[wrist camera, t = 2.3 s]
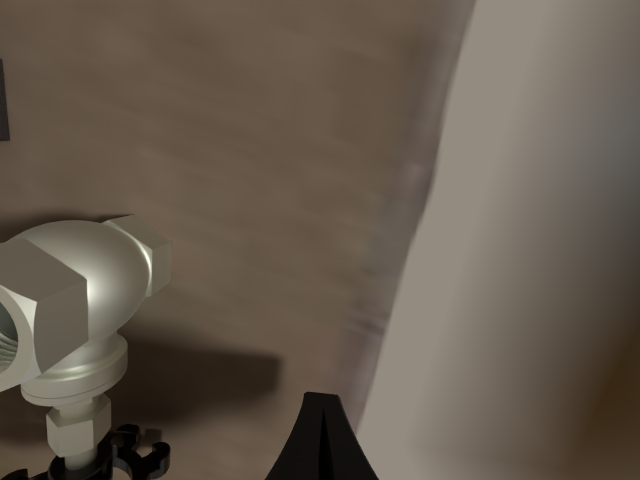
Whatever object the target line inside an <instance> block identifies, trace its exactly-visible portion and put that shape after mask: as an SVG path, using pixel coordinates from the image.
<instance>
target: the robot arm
mask: <svg viewBox="0 0 640 480" xmlns="http://www.w3.org/2000/svg"><path fill="white" fill-rule="evenodd" d="M265 480H379V479H378V477H377V476H376V474H375V472H374V471H373V469H372V467H371V466H370V464H369V462H368V460H367V458H366V456H365V455H364V453H363V451H362V449H361V447H360V445H359V443H358V441H357V439H356V437H355V435H354V433H353V431H352V428H351V426H350V424H349V421H348V419H347V417H346V414H345V412H344V409H343V406H342V403H341V400H340V397H339V396H338V395H334V394H325V393H316V392H306V393H305V394H304V398H303V403H302V407H301V410H300V413H299V415H298V418H297V420H296V423H295V425H294V427H293V430H292V432H291V434H290V436H289V438H288V440H287V442H286V444H285V446H284V448H283V450H282V452H281V454H280V455H279V457H278V459H277V461H276V462H275V464H274V466H273V467H272V469H271V471H270V472H269V474H268V475H267V477H266V479H265Z"/></svg>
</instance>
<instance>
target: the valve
mask: <svg viewBox="0 0 640 480" xmlns="http://www.w3.org/2000/svg"><path fill="white" fill-rule="evenodd" d="M171 254H172V242H171V241H170V240H169V239H168V238H167V237H165V236H164V235H163V234H161V233H160V232H158V231H157V230H156V229H154V228H153V227H151V226H150V225H149V224H147V223H146V222H144V221H143V220H141V219H140V218H139V217H137V216H135V215H134V214H133V215H129V216H124V217H120V218H115V219H110V220H107V221H105V222H103V223H97V222H91V221H83V220H64V221H57V222H51V223H46V224H42V225H39V226H36V227H33V228H31V229H28V230H26V231H23V232H21V233H20V234H18V235H16V236H14V237H13V238H11V239H9V240H8V241H6V242H3V243H0V392H1V391H4V390H6V389H9V388H11V387H14V386H16V385H18V384H21V393H22V396H23V397H24V398H25V400H27V401H29V402H30V403H32V404H36V405H40V406H53V407H54V408H52V409H51V410H50V411H49V412H48V413H47V414H46V421H47V436H48V444H49V445H50V447H51V448H52V450H53V451H54V452H55V454H56V455H57V456H56V457H55V458H54V459H53V460H52V462H51V464H50V466H49V468H48V471H46V472H44V473H41V474H38V475H36V476H34V477H31V478H28V470H27V469H20V470H17V471H14V472H11V473H10V474H8V475H6V476H5V477H3V478H2V479H1V480H112V479H113V467H117V468H120V469H122V470H123V471H125V472H126V473H127V474H128V475H129V477H130V479H131V480H153V479H157V478H160V477H161V476H163V475H164V474H165V473H166V472H167V470H168V469H169V466H170V446H169V444H167V443H166V442H157V443H154V444H153V445H152V452H151V453H150V454H149V455H147V456H145V457H142V458H141V456H140V455H139V454H138V453H137V452H135V451H136V450H137V449H138V447H139V436H140V429H139V426H138V425H132V424H125V425H123V426H121V427H119V428H118V429H117V430H116V431H115V432H114V431H109V429H110V428H111V400H110V399H109V398H108V397H107V396H106V395H105V394H104V392H105V391H106V390H108V389H109V388H111V387H112V386H114V385H115V384H116V383H117V382H118V381H119V380H120V379H121V378H122V377H123V376H124V374H125V372H126V370H127V359H128V357H127V352H128V345H127V341H126V340H125V338H124V337H122V336H121V335H119V334H117V329H119V328H120V327H121V326H122V325H124V324H125V323H126V322H127V321H128V320H129V319H130V318H131V317H132V316H133V315H134V313H135V312H136V311H137V310H138V308H139V307H140V305H141V303H142V301H143V299H144V298H147V297H149V296H151V295H153V294H154V293H156V292H157V291H158V290H160V289H161V288H163V287H164V286H165V285H167V284H168V283H170V279H171ZM108 431H109V432H108Z"/></svg>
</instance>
